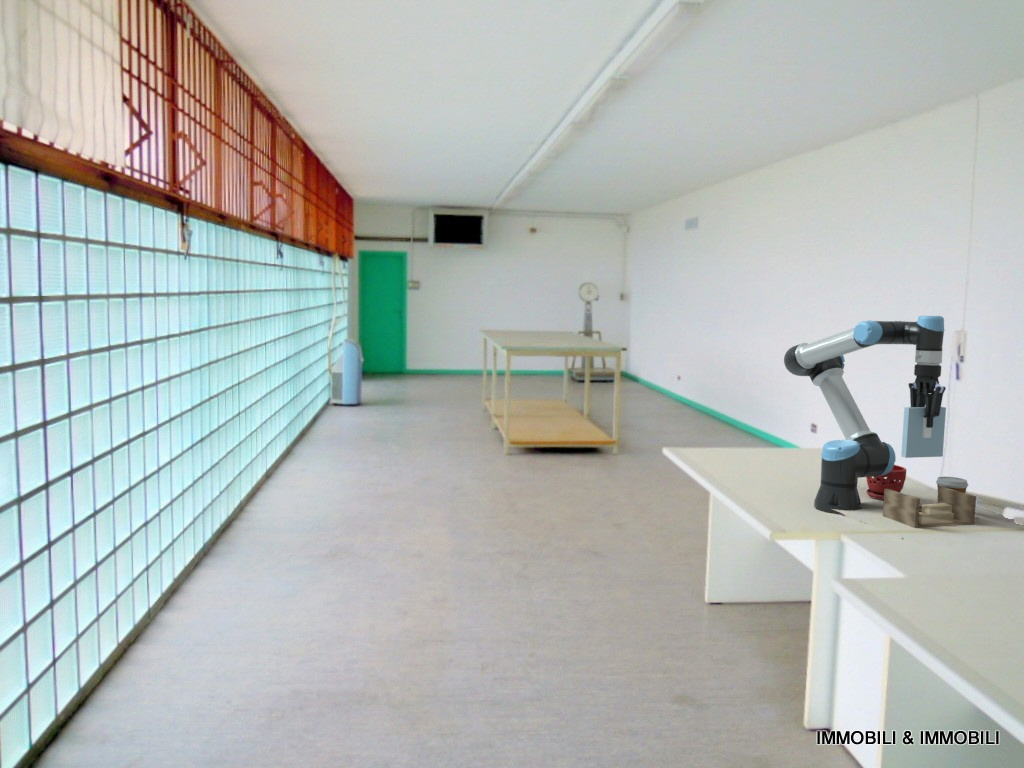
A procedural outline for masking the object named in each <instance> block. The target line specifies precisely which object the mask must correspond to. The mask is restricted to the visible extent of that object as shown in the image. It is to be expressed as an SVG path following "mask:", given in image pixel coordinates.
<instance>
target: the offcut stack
mask: <svg viewBox="0 0 1024 768" xmlns="http://www.w3.org/2000/svg"><path fill="white" fill-rule="evenodd" d="M921 505H922V511H921V512H919V522H918V523H919V524H937V523H953V521H954V513H952V505H949V504H946V503H939V504H937V503H929V504H921Z"/></svg>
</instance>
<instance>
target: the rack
mask: <svg viewBox="0 0 1024 768" xmlns="http://www.w3.org/2000/svg"><path fill="white" fill-rule="evenodd" d="M920 502H921V498H918V497H915V496H911V495H908V494H905V493H902V492H900V493H899V492H896V491H893V490H890V489H884V500H883V508H882V509H883V510H882V517H883V518H887V519H889V520H892V521H895V522H897V523H900V524H902V525H905V526H909V527H911V528H914V529H920V528H921V529H922V528H924V529H925V528H937V527H939V528H940V527H954V526H956V527H957V526H970V525H971V526H973V525H975V518H976V508H977V507H976V504H977V496H976V495H974V494H969V493H967V492H966V493H963V492H960V491H956V490H952V489H949V488H945V487H942V486H938V487H937V502H936V504H939V503H946V504H949V505H952V513H954V521H953V523H937V524H919V523H918V522H919V512H921V511H922V505H923V504H921V505H920Z"/></svg>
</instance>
